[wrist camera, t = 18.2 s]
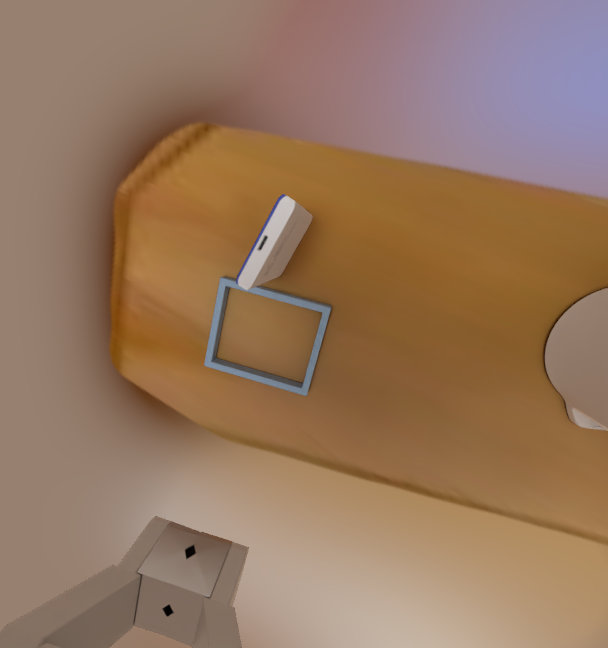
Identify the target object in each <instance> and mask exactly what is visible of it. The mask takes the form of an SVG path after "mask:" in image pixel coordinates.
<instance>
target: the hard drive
mask: <svg viewBox="0 0 608 648" xmlns="http://www.w3.org/2000/svg"><path fill="white" fill-rule="evenodd" d="M312 219H313V216H312V215H311V214H310V213H309V212H308V211H307V210H305V209H304V208H303V207H302V206H301V205H299V204H298V203H297V202H296V201H294V200H293V199H291V198H290V197H288V196H286V195H284V194H283V195H281V196H280V197H279V198H278V200H277V202H276V204H275V206H274V207H273V209H272V211H271V213H270V215H269V217H268V219H267V221H266V223H265V225H264V226H263V228H262V230H261V232H260V234H259V236H258V238H257V240H256V242H255V244H254V245H253V247H252V249H251V251H250V253H249V255H248V257H247V259H246V260H245V263H244V264H243V266H242V268H241V270H240V272H239V274H238V276H237V279H236V284H237V285H239V286H240V287H242V288H244V289H245V290H249V289H251V288H254V287H256V286H258V285H261V284H263V283H265V282H268V281H270V280H272V279H275V278H277V277H279V276H280V275H281V274H282V273H283V271H284V269H285V267H286V266H287V264H288V262H289V260H290V259H291V257H292V255H293V253H294V252H295V250H296V248H297V246H298V245H299V243H300V241H301V239H302V238H303V236H304V234H305V232H306V230H307V229H308V227H309V225H310V223H311V222H312Z"/></svg>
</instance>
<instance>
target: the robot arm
mask: <svg viewBox="0 0 608 648" xmlns="http://www.w3.org/2000/svg"><path fill="white" fill-rule="evenodd" d="M545 366H546V370H547V374H548V376H549V379H550V381H551V383H552V384H553V386H554V387H555V388H556V390H557V391H558V392H559V393H560V394H561V396H562V397H563V398H564V400H565V403H566V408H567V413H568V416H569V419H570V420H571V421H572V422H573V423H574V424H576V425H578V426H579V427H582V428H588V429H597V430H606V431H608V288H605V289H602V290H599V291H597V292H594V293H592V294H590V295H588V296H586V297H584V298H583V299H581V300H580V301H578V302H577V303H575V304H574V305H573V306H572V307H570V308H569V309H568V310H567V311H566V312H565V313H564V314H563V315H562V317H561V318H560V319H559V320H558V322H557V323H556V324H555V326H554V328H553V330H552V331H551V334H550V336H549V338H548V341H547V345H546V350H545ZM248 549H249V547H246V546H243V545H240V544H237V543H234V542H232V541H229V540H226V539H223V538H219V537H217V536H213V535H210V534H207V533H204V532H199V531H196V530H193V529H190V528H188V527H185V526H183V525H180V524H177V523H174V522H172V521H169V520H166V519H163V518H160V517H157V516H155V517H154V518H153V519H152V520H151V521H150V522H149V524H148V525H147V526H146V528H145V529H144V530H143V532H142V533H141V534H140V536H139V537H138V539H137V540H136V541H135V543H134V544H133V545H132V547H131V548H130V550H129V551H128V552H127V554H126V555H125V556H124V558H123V559H122V561H121V562H120V563H119V565H118V566H114V565H112V566H110V567H108V568H106V569H104V570H103V571H101V572H99V573H97V574H95V575H94V576H92V577H90V578H88V579H87V580H85V581H83V582H82V583H80V584H78V585H76V586H74V587H73V588H71V589H69V590H67V591H65V592H64V593H62V594H60V595H58V596H57V597H55V598H53V599H51V600H50V601H48V602H46V603H44V604H43V605H41V606H39V607H37V608H36V609H34V610H32V611H30V612H28V613H27V614H25V615H23V616H21V617H20V618H18V619H16V620H14V621H13V622H11V623H9V624H7V625H6V626H5V627H4V628H3V629H2V631H1V632H0V648H109V647H110V646H112V645H113V644H114V643H115V642H116V641H117V640H119V639H120V638H121V637H122V636H123V635H125V634H126V633H127V632H128V631H129V630H131V629H132V627H133V625H134V626H137V627H140V628H143V629H146V630H149V631H153V632H156V633H159V634H162V635H165V636H167V637H170V638H172V639H175V640H177V641H180V642H182V643H185V644H187V645H190V646H192V648H242V646H241V641H240V636H239V630H238V624H237V620H236V613H235V608H234V607H232V606H233V603H234V600H235V596H236V593H237V589H238V586H239V582H240V579H241V575H242V571H243V567H244V564H245V560H246V557H247V553H248Z"/></svg>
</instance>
